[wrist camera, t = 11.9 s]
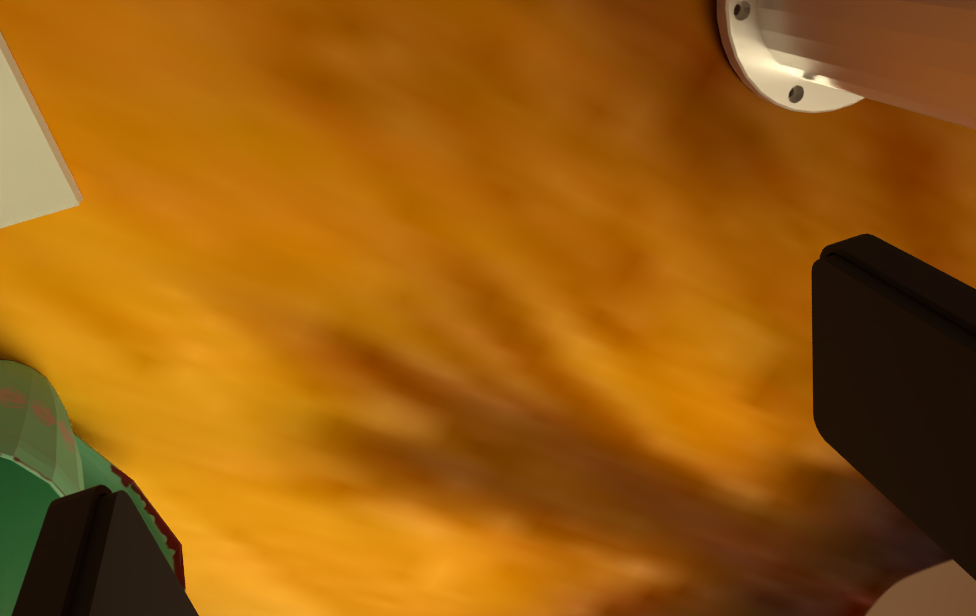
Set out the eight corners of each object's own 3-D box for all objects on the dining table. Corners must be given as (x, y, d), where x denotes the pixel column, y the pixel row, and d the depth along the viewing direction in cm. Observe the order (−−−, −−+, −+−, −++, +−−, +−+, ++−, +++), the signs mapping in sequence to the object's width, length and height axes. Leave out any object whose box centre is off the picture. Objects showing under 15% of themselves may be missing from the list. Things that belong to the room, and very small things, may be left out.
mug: (-178, 432, 35) (-309, 602, 26) (-48, 265, 33) (-143, 387, 25) (129, 560, 42) (104, 727, 33) (246, 427, 41) (252, 565, 32)
